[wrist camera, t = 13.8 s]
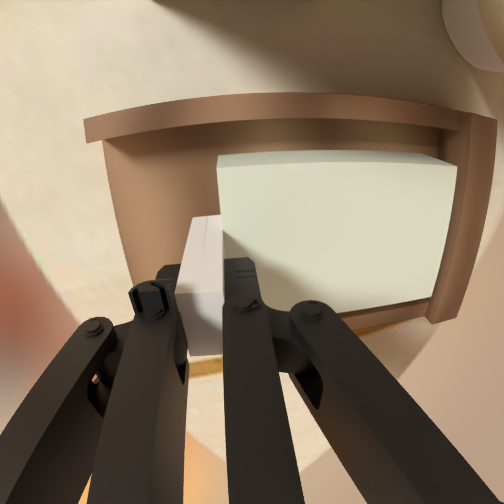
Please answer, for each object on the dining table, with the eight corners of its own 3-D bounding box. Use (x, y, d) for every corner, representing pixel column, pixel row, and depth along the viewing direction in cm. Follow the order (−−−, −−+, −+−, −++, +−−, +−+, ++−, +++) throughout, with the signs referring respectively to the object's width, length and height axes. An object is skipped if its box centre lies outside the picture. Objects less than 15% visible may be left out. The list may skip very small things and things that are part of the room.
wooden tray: (150, 319, 21) (139, 361, 17) (107, 115, 14) (74, 120, 11) (429, 287, 22) (456, 317, 18) (455, 112, 15) (497, 120, 12)
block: (233, 324, 15) (431, 296, 16) (216, 168, 12) (457, 166, 12) (230, 287, 19) (405, 268, 19) (218, 155, 15) (421, 153, 16)
